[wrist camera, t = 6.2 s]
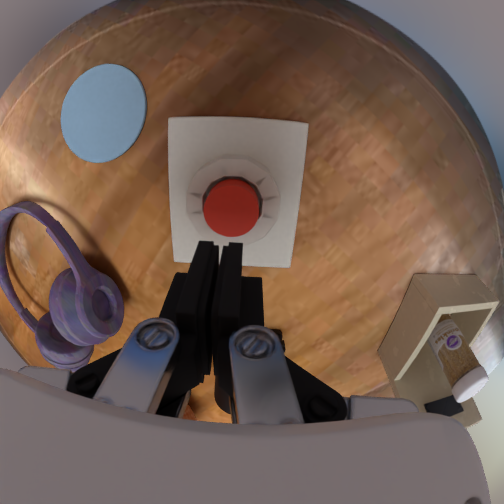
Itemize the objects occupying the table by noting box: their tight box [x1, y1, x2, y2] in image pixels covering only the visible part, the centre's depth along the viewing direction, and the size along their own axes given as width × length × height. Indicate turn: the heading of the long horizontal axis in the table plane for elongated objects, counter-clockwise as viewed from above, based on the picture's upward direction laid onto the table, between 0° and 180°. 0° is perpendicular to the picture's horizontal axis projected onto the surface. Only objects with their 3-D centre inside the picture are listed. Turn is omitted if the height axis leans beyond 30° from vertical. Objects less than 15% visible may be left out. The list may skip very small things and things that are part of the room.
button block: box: [168, 116, 309, 268], centre depth 20 cm, size 12×10×4 cm
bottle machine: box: [378, 274, 499, 429], centre depth 23 cm, size 13×12×16 cm
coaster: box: [61, 64, 147, 163], centre depth 18 cm, size 9×9×1 cm
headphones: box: [0, 201, 124, 372], centre depth 23 cm, size 18×8×20 cm
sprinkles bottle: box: [427, 314, 488, 403], centre depth 24 cm, size 5×5×14 cm
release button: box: [203, 179, 259, 237], centre depth 18 cm, size 4×4×2 cm
